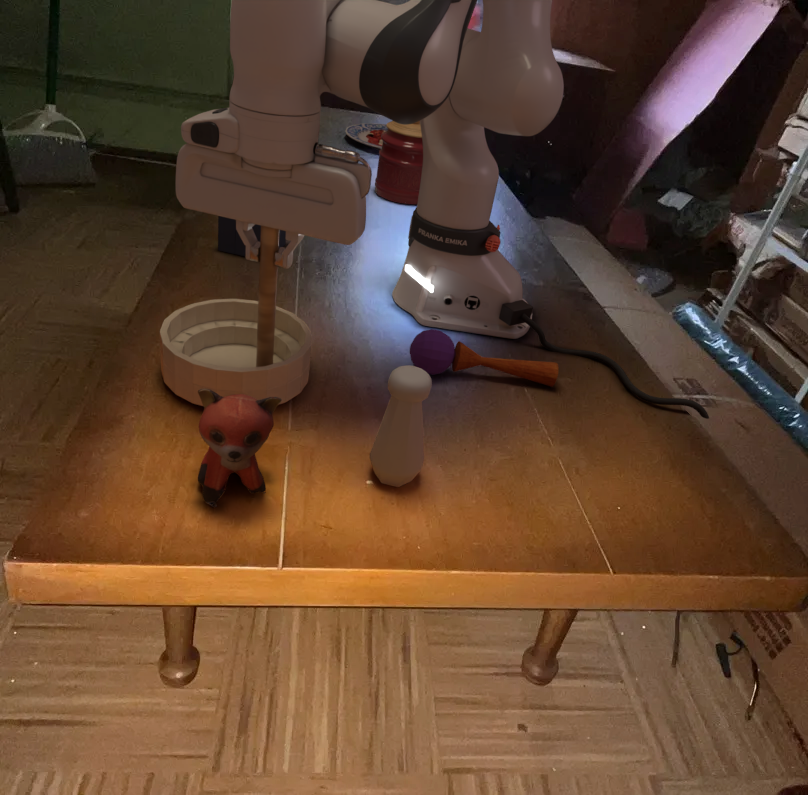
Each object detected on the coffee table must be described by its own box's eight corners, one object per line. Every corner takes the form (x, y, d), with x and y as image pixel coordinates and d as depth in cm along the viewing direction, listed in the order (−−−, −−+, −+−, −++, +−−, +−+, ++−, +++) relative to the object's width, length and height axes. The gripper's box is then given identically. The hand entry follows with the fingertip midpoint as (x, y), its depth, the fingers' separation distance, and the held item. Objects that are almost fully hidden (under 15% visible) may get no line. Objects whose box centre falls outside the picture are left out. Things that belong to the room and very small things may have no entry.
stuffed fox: (272, 444, 80) (278, 349, 74) (276, 514, 71) (283, 414, 64) (200, 443, 78) (200, 346, 72) (195, 515, 69) (194, 412, 63)
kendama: (565, 373, 95) (415, 345, 92) (548, 405, 99) (405, 379, 96) (558, 344, 99) (416, 316, 96) (543, 375, 103) (405, 350, 100)
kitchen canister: (441, 206, 157) (457, 121, 148) (385, 205, 152) (398, 117, 143) (418, 185, 167) (431, 105, 157) (365, 184, 162) (375, 101, 152)
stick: (275, 369, 89) (284, 193, 77) (268, 377, 87) (277, 198, 75) (259, 365, 89) (266, 189, 77) (253, 373, 88) (259, 194, 76)
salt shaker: (419, 460, 82) (439, 361, 74) (421, 494, 77) (443, 391, 70) (367, 455, 81) (382, 354, 74) (366, 489, 76) (383, 385, 69)
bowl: (326, 358, 97) (330, 318, 94) (277, 430, 82) (280, 386, 79) (202, 327, 99) (202, 287, 96) (133, 392, 84) (130, 347, 81)
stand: (285, 244, 127) (287, 211, 124) (266, 262, 120) (268, 227, 116) (239, 233, 128) (240, 200, 125) (217, 250, 121) (218, 215, 117)
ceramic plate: (334, 128, 199) (335, 117, 198) (422, 135, 208) (424, 124, 206) (358, 157, 179) (359, 144, 178) (454, 163, 188) (456, 151, 186)
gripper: (382, 148, 74) (366, 272, 82) (195, 109, 77) (197, 233, 84) (365, 163, 69) (350, 295, 77) (165, 120, 71) (170, 252, 79)
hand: (268, 262), depth 81 cm, fingers closed on stick, 2 cm apart
